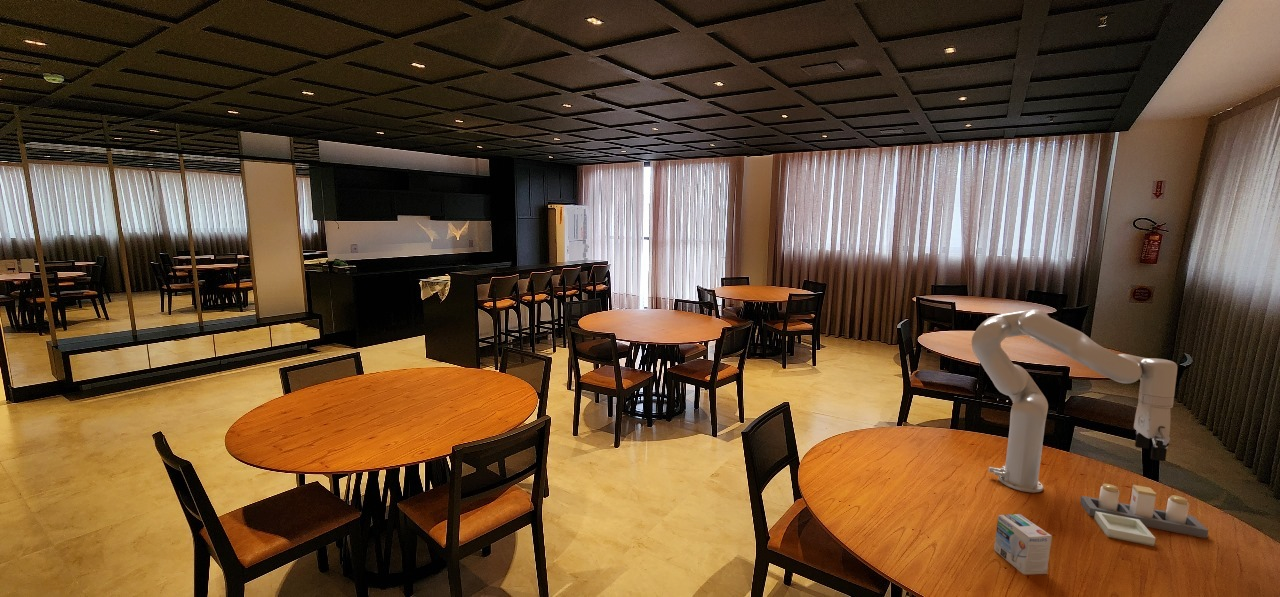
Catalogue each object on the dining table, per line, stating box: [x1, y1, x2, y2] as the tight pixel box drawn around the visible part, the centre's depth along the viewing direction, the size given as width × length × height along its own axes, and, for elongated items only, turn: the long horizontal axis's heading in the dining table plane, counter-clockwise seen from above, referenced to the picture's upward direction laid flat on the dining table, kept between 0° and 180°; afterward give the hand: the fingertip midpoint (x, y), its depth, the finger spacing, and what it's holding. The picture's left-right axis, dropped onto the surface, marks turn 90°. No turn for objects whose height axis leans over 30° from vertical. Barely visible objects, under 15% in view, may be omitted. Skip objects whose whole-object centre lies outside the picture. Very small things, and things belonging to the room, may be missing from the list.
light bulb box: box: [993, 513, 1053, 576], centre depth 138 cm, size 11×7×11 cm, turn 5°
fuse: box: [1129, 484, 1157, 518], centre depth 159 cm, size 4×4×10 cm
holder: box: [1079, 495, 1209, 539], centre depth 160 cm, size 27×8×2 cm, turn 65°
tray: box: [1093, 511, 1156, 547], centre depth 153 cm, size 10×10×2 cm
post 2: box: [1165, 494, 1190, 524], centre depth 156 cm, size 4×4×9 cm
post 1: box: [1098, 483, 1120, 512], centre depth 163 cm, size 4×4×9 cm
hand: (1149, 453), depth 159 cm, fingers open, 9 cm apart
